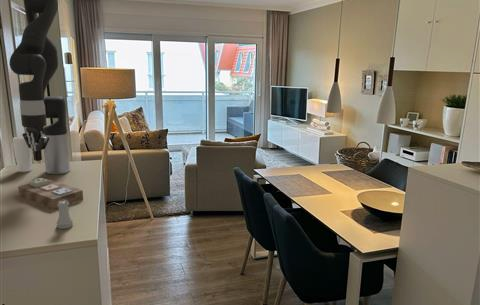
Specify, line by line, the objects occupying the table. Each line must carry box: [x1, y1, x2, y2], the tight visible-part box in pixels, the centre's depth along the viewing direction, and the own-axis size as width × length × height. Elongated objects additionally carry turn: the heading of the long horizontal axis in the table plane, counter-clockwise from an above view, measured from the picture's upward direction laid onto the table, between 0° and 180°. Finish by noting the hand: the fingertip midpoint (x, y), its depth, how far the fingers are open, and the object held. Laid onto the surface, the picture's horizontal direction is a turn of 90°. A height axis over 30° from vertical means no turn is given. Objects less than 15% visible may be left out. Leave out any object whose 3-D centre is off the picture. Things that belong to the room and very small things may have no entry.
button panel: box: [17, 178, 84, 210], centre depth 125 cm, size 21×11×4 cm, turn 59°
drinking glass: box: [12, 135, 33, 173], centre depth 152 cm, size 7×7×15 cm
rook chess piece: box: [56, 200, 74, 230], centre depth 103 cm, size 4×4×8 cm
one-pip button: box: [40, 184, 60, 192], centre depth 124 cm, size 4×4×2 cm
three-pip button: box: [28, 177, 48, 188], centre depth 127 cm, size 4×4×2 cm
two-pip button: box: [52, 188, 72, 196], centre depth 121 cm, size 4×4×2 cm
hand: (37, 160), depth 126 cm, fingers closed
